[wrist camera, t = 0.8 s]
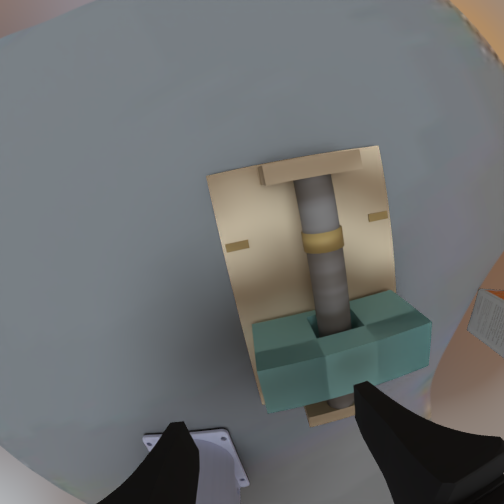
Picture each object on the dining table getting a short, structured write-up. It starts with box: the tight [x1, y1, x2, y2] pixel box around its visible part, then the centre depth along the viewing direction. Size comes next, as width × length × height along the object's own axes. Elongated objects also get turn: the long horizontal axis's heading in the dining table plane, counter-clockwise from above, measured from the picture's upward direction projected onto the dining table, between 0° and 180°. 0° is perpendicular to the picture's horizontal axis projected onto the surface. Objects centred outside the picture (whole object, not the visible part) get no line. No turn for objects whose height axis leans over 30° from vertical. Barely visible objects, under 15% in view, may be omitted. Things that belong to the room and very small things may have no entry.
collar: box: [252, 290, 432, 414], centre depth 17 cm, size 3×10×5 cm, turn 102°
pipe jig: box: [206, 146, 396, 427], centre depth 18 cm, size 17×11×5 cm, turn 12°
